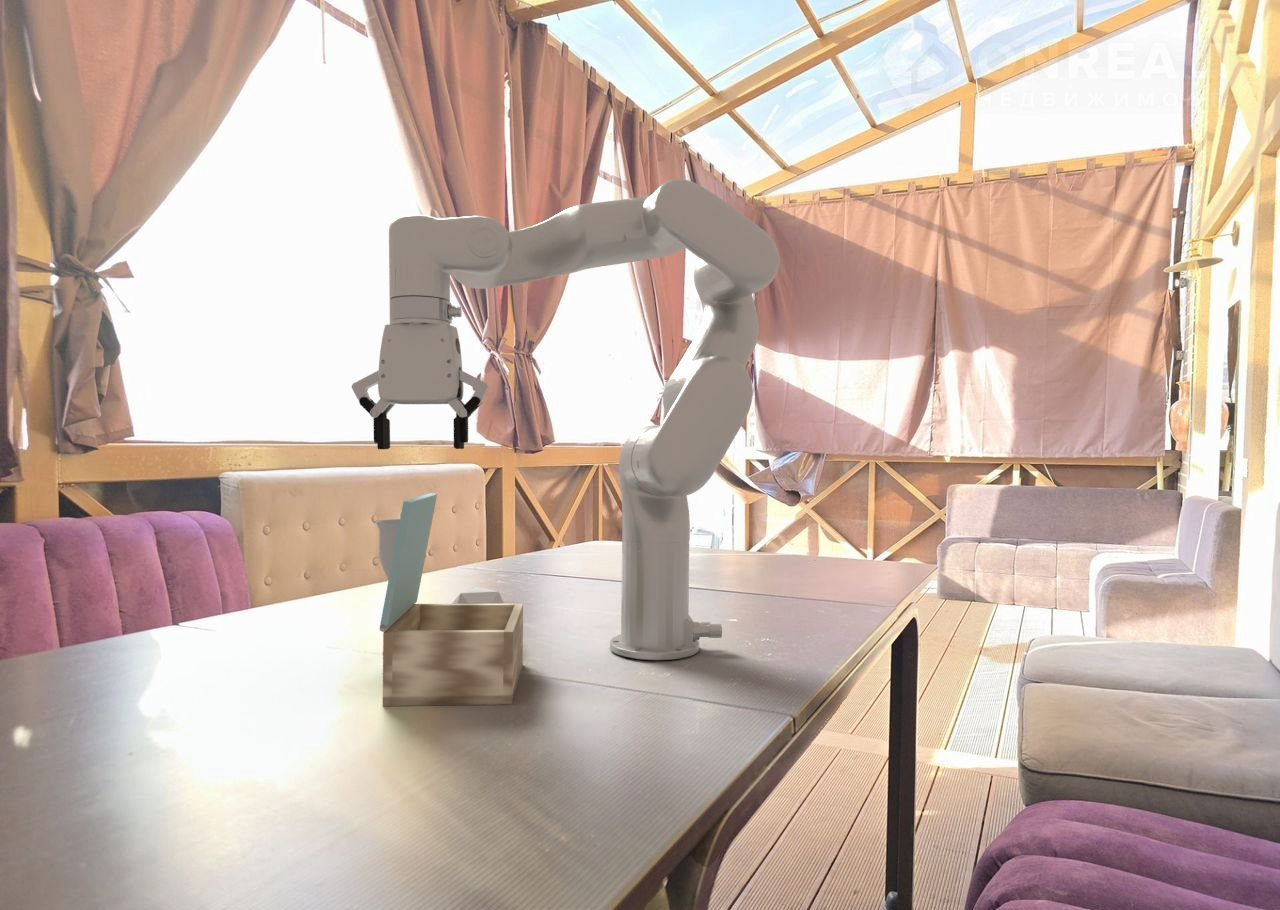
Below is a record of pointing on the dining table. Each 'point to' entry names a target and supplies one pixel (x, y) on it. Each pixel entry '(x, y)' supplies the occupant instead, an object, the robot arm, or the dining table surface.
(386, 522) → the chalice
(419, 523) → the lid
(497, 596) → the die
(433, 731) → the dining table surface
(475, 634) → the chest
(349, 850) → the dining table surface
